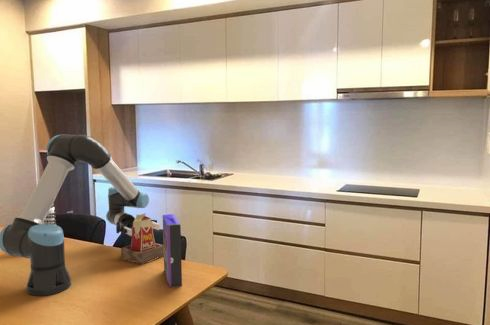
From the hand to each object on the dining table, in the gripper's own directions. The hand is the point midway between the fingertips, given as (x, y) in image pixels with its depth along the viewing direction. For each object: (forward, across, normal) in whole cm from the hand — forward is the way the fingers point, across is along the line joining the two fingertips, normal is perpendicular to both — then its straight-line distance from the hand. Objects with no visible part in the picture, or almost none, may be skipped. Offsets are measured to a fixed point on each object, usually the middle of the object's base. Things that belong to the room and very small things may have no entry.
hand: (145, 229), depth 181 cm
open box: (-3, 0, -14) cm, 14 cm away
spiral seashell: (-46, +29, -14) cm, 57 cm away
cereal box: (+27, +2, -14) cm, 30 cm away
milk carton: (-3, 0, -13) cm, 13 cm away
